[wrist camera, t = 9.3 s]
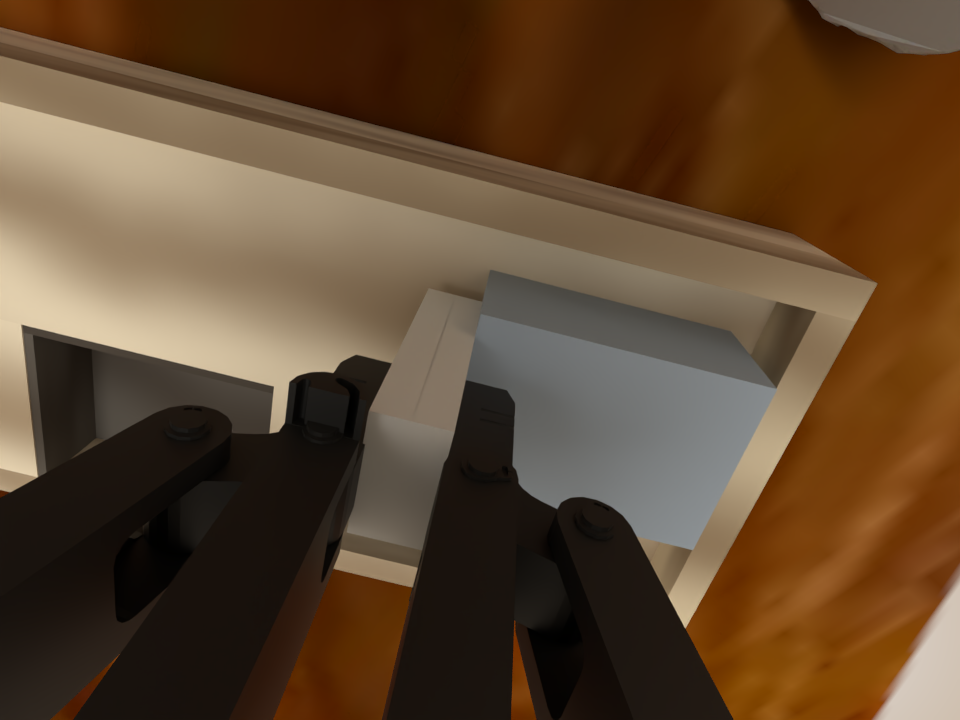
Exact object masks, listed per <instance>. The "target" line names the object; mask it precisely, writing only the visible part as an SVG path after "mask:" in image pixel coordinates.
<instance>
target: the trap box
mask: <svg viewBox="0 0 960 720" xmlns="http://www.w3.org/2000/svg"><path fill="white" fill-rule="evenodd" d="M490 270H494V271H498V272H502V273H506V274H510V275H514V276H517V277H521V278H525V279H529V280H533V281H537V282H541V283H545V284H549V285H553V286H556V287H560V288H564V289H568V290H572V291H576V292H580V293H584V294H588V295H592V296H595V297H599V298H603V299H607V300H611V301H615V302H619V303H623V304H627V305H631V306H634V307H638V308H642V309H646V310H650V311H654V312H658V313H662V314H666V315H670V316H673V317H677V318H681V319H685V320H689V321H693V322H697V323H701V324H705V325H709V326H712V327H716V328H720V329H724V330H728V331H731V332H732V333H733V334H734V336H735V337H736V338H737V339H738V341H739V342H740V343H741V344H742V346H743V347H744V348H745V349H746V351H747V352H748V353H749V354H750V356H751V357H752V358H753V359H754V361H755V362H756V363H757V364H758V366H759V367H760V368H761V369H762V371H763V372H764V373H765V374H766V376H767V377H768V378H769V379H770V381H771V382H772V383H773V384H774V386H775V387H776V388H777V391H776V393H775V395H774V397H773V399H772V400H771V402H770V404H769V406H768V408H767V410H766V412H765V414H764V416H763V418H762V420H761V421H760V423H759V425H758V427H757V429H756V431H755V433H754V435H753V437H752V439H751V441H750V442H749V444H748V446H747V448H746V450H745V452H744V454H743V456H742V458H741V460H740V461H739V463H738V465H737V467H736V469H735V471H734V473H733V475H732V477H731V479H730V481H729V482H728V484H727V486H726V488H725V490H724V492H723V494H722V496H721V498H720V500H719V502H718V503H717V505H716V507H715V509H714V511H713V513H712V515H711V517H710V519H709V521H708V523H707V524H706V526H705V528H704V530H703V532H702V534H701V536H700V538H699V540H698V542H697V544H696V545H695V547H694V549H693V550H690V549H686V548H682V547H678V546H674V545H670V544H665V543H661V542H657V541H653V540H649V539H645V538H641V537H637V538H638V540H639V542H640V544H641V546H642V548H643V550H644V551H645V553H646V555H647V557H648V559H649V561H650V563H651V565H652V567H653V568H654V570H655V572H656V574H657V576H658V578H659V580H660V582H661V584H662V585H663V587H664V589H665V591H666V593H667V595H668V597H669V599H670V601H671V603H672V604H673V606H674V608H675V610H676V612H677V614H678V616H679V618H680V620H681V621H682V623H683V625H684V627H685V628H686V626H687V625H688V623H689V621H690V619H691V617H692V616H693V614H694V612H695V610H696V608H697V607H698V605H699V603H700V601H701V599H702V598H703V596H704V594H705V592H706V590H707V589H708V587H709V585H710V583H711V582H712V580H713V578H714V576H715V574H716V573H717V571H718V569H719V567H720V565H721V564H722V562H723V560H724V558H725V556H726V555H727V553H728V551H729V549H730V547H731V546H732V544H733V542H734V540H735V538H736V537H737V535H738V533H739V531H740V529H741V528H742V526H743V524H744V522H745V520H746V519H747V517H748V515H749V513H750V511H751V510H752V508H753V506H754V504H755V502H756V501H757V499H758V497H759V495H760V493H761V492H762V490H763V488H764V486H765V485H766V483H767V481H768V479H769V477H770V476H771V474H772V472H773V470H774V468H775V467H776V465H777V463H778V461H779V459H780V458H781V456H782V454H783V452H784V450H785V449H786V447H787V445H788V443H789V441H790V440H791V438H792V436H793V434H794V432H795V431H796V429H797V427H798V425H799V423H800V422H801V420H802V418H803V416H804V414H805V413H806V411H807V409H808V407H809V405H810V404H811V402H812V400H813V398H814V397H815V395H816V393H817V391H818V389H819V388H820V386H821V384H822V382H823V380H824V379H825V377H826V375H827V373H828V371H829V370H830V368H831V366H832V364H833V362H834V361H835V359H836V357H837V355H838V353H839V352H840V350H841V348H842V346H843V344H844V343H845V341H846V339H847V337H848V335H849V334H850V332H851V330H852V328H853V326H854V325H855V323H856V321H857V319H858V317H859V316H860V314H861V312H862V310H863V309H864V307H865V305H866V303H867V301H868V300H869V298H870V296H871V294H872V292H873V291H874V289H875V287H876V285H877V283H876V282H875V281H873V280H871V279H869V278H868V277H866V276H864V275H863V274H861V273H859V272H857V271H856V270H854V269H852V268H851V267H849V266H847V265H845V264H844V263H842V262H840V261H839V260H837V259H835V258H834V257H832V256H830V255H828V254H827V253H825V252H823V251H822V250H820V249H818V248H816V247H815V246H813V245H811V244H810V243H808V242H806V241H804V240H803V239H801V238H799V237H798V236H796V235H794V234H792V233H788V232H784V231H780V230H777V229H773V228H769V227H765V226H761V225H757V224H754V223H750V222H746V221H742V220H738V219H734V218H731V217H727V216H723V215H719V214H715V213H711V212H708V211H704V210H700V209H696V208H692V207H688V206H685V205H681V204H677V203H673V202H669V201H665V200H662V199H658V198H654V197H650V196H646V195H642V194H639V193H635V192H631V191H627V190H623V189H619V188H616V187H612V186H608V185H604V184H600V183H596V182H592V181H589V180H585V179H581V178H577V177H573V176H569V175H566V174H562V173H558V172H554V171H550V170H546V169H543V168H539V167H535V166H531V165H527V164H523V163H520V162H516V161H512V160H508V159H504V158H500V157H497V156H493V155H489V154H485V153H481V152H477V151H474V150H470V149H466V148H462V147H458V146H454V145H451V144H447V143H443V142H439V141H435V140H431V139H428V138H424V137H420V136H416V135H412V134H408V133H405V132H401V131H397V130H393V129H389V128H385V127H382V126H378V125H374V124H370V123H366V122H362V121H359V120H355V119H351V118H347V117H343V116H339V115H336V114H332V113H328V112H324V111H320V110H316V109H312V108H309V107H305V106H301V105H297V104H293V103H289V102H286V101H282V100H278V99H274V98H270V97H266V96H263V95H259V94H255V93H251V92H247V91H243V90H240V89H236V88H232V87H228V86H224V85H220V84H217V83H213V82H209V81H205V80H201V79H197V78H194V77H190V76H186V75H182V74H178V73H174V72H171V71H167V70H163V69H159V68H155V67H151V66H148V65H144V64H140V63H136V62H132V61H128V60H125V59H121V58H117V57H113V56H109V55H105V54H102V53H98V52H94V51H90V50H86V49H82V48H79V47H75V46H71V45H67V44H63V43H59V42H56V41H52V40H48V39H44V38H40V37H36V36H33V35H29V34H25V33H21V32H17V31H13V30H9V29H6V28H2V27H0V490H3V491H8V492H12V491H14V490H16V489H17V488H19V487H21V486H23V485H25V484H27V483H28V482H30V481H32V480H34V479H36V478H37V477H39V476H41V475H43V474H45V473H47V472H48V471H50V470H52V469H54V468H56V467H57V466H59V465H61V464H63V463H65V462H66V461H68V460H70V459H72V458H74V457H76V456H77V455H79V454H81V453H83V452H85V451H86V450H88V449H90V448H92V447H94V446H96V445H97V444H99V443H101V442H103V441H105V440H106V439H108V438H110V437H112V436H114V435H116V434H117V433H119V432H121V431H123V430H125V429H126V428H128V427H130V426H132V425H134V424H136V423H137V422H139V421H141V420H143V419H145V418H146V417H148V416H150V415H152V414H154V413H156V412H159V411H161V410H164V409H166V408H169V407H176V406H183V405H194V406H195V405H197V406H204V407H208V408H212V409H216V410H218V411H220V412H221V413H223V414H224V415H226V416H228V418H229V420H230V421H231V423H232V433H241V434H269V433H275V432H279V430H280V429H281V428H282V426H283V425H284V423H285V416H286V407H287V398H288V389H289V382H290V381H291V380H293V379H294V378H295V377H297V376H299V375H302V374H306V373H309V372H330V373H334V371H335V370H336V368H337V367H338V365H339V364H340V362H342V361H344V360H346V359H348V358H350V357H352V356H354V355H360V356H365V357H369V358H373V359H377V360H381V361H385V362H389V363H392V362H393V360H394V358H395V356H396V354H397V352H398V350H399V348H400V346H401V344H402V342H403V340H404V338H405V336H406V334H407V332H408V330H409V328H410V326H411V324H412V322H413V320H414V317H415V315H416V313H417V311H418V309H419V307H420V305H421V303H422V301H423V299H424V297H425V295H426V293H427V291H428V289H429V288H430V289H434V290H438V291H441V292H445V293H449V294H453V295H457V296H461V297H465V298H469V299H473V300H477V301H481V302H482V300H483V296H484V292H485V288H486V285H487V281H488V277H489V273H490ZM348 522H349V520H348ZM348 522H347V524H346V527H345V529H344V532H343V536H342V542H341V548H340V553H339V556H338V558H337V561H336V563H335V566H334V568H333V569H337V570H341V571H345V572H350V573H354V574H358V575H362V576H366V577H371V578H375V579H379V580H383V581H387V582H392V583H396V584H400V585H404V586H409V587H413V584H414V580H415V576H416V572H417V568H418V565H419V561H420V557H421V553H422V550H418V549H414V548H410V547H405V546H401V545H397V544H393V543H389V542H384V541H380V540H376V539H372V538H368V537H364V536H359V535H355V534H351V533H347V528H348Z"/></svg>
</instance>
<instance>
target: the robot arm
mask: <svg viewBox="0 0 960 720" xmlns="http://www.w3.org/2000/svg"><path fill="white" fill-rule="evenodd" d="M481 307H482V302H481V301H477V300H473V299H469V298H465V297H461V296H457V295H453V294H449V293H445V292H441V291H438V290H434V289H430V288H429V289H428V291H427V293H426V295H425V297H424V299H423V301H422V303H421V305H420V307H419V309H418V311H417V313H416V315H415V317H414V320H413V322H412V324H411V326H410V328H409V330H408V332H407V334H406V336H405V338H404V340H403V342H402V344H401V346H400V348H399V350H398V352H397V354H396V356H395V358H394V360H393V362H392V363H389V362H385V361H381V360H377V359H373V358H369V357H365V356H360V355H354V356H352V357H350V358H348V359H346V360H344V361H342V362H340V364H339V365H338V367H337V368H336V370H335V371H334V373H330V372H309V373H306V374H302V375H299V376H297V377H295V378H294V379H293V380H291V381H290V382H289V389H288V398H287V407H286V416H285V423H284V425H283V426H282V428H281V429H280V430H279V432H275V433H269V434H241V433H232V423H231V421H230V420H229V418H228V416H226V415H224V414H223V413H221V412H220V411H218V410H216V409H212V408H208V407H204V406H197V405H195V406H194V405H183V406H176V407H169V408H166V409H164V410H161V411H159V412H156V413H154V414H152V415H150V416H148V417H146V418H145V419H143V420H141V421H139V422H137V423H136V424H134V425H132V426H130V427H128V428H126V429H125V430H123V431H121V432H119V433H117V434H116V435H114V436H112V437H110V438H108V439H106V440H105V441H103V442H101V443H99V444H97V445H96V446H94V447H92V448H90V449H88V450H86V451H85V452H83V453H81V454H79V455H77V456H76V457H74V458H72V459H70V460H68V461H66V462H65V463H63V464H61V465H59V466H57V467H56V468H54V469H52V470H50V471H48V472H47V473H45V474H43V475H41V476H39V477H37V478H36V479H34V480H32V481H30V482H28V483H27V484H25V485H23V486H21V487H19V488H17V489H16V490H14V491H12V492H10V493H8V494H7V495H5V496H3V497H1V498H0V720H50V719H51V718H52V717H53V716H54V715H55V714H57V713H58V712H59V711H60V710H61V709H62V708H63V707H64V706H65V705H66V704H67V703H68V702H69V701H70V700H71V699H72V698H73V697H75V696H76V695H77V694H78V693H79V692H80V691H81V690H82V689H83V688H84V687H85V686H86V685H87V684H88V683H89V682H90V681H92V680H93V679H94V678H95V677H96V676H97V675H98V674H99V673H100V672H101V671H102V670H103V669H104V668H105V667H106V666H107V665H108V664H110V663H111V662H112V661H113V660H114V659H115V658H116V657H117V656H118V655H119V654H120V655H119V656H118V658H117V659H116V660H115V662H114V663H113V665H112V666H111V667H110V669H109V670H108V672H107V673H106V674H105V676H104V677H103V679H102V680H101V681H100V683H99V684H98V686H97V687H96V689H95V690H94V691H93V693H92V694H91V696H90V697H89V698H88V700H87V701H86V703H85V704H84V705H83V707H82V708H81V710H80V711H79V712H78V714H77V715H76V717H75V718H74V719H73V720H273V718H274V715H275V713H276V710H277V708H278V705H279V703H280V700H281V698H282V696H283V693H284V691H285V688H286V686H287V683H288V681H289V678H290V676H291V673H292V671H293V668H294V666H295V663H296V661H297V658H298V656H299V653H300V651H301V648H302V646H303V643H304V641H305V638H306V636H307V633H308V631H309V628H310V626H311V623H312V621H313V618H314V616H315V613H316V611H317V608H318V606H319V603H320V601H321V598H322V596H323V593H324V591H325V588H326V586H327V583H328V581H329V578H330V576H331V573H332V571H333V568H334V566H335V563H336V561H337V558H338V556H339V553H340V548H341V542H342V536H343V532H344V529H345V527H346V524H347V522H348V520H349V522H348V528H347V533H351V534H355V535H359V536H364V537H368V538H372V539H376V540H380V541H384V542H389V543H393V544H397V545H401V546H405V547H410V548H414V549H418V550H422V553H421V557H420V561H419V565H418V568H417V572H416V576H415V580H414V584H413V588H412V592H411V595H410V599H409V601H410V602H409V606H408V611H407V615H406V619H405V624H404V628H403V632H402V636H401V641H400V645H399V649H398V653H397V658H396V662H395V666H394V670H393V675H392V679H391V683H390V687H389V692H388V696H387V700H386V705H385V709H384V713H383V717H382V720H511V697H512V667H513V636H514V620H515V621H516V635H517V639H518V643H519V647H520V652H521V656H522V660H523V664H524V668H525V672H526V677H527V681H528V685H529V689H530V693H531V698H532V702H533V706H534V710H535V714H536V718H537V720H733V718H732V716H731V714H730V712H729V710H728V709H727V707H726V705H725V703H724V701H723V699H722V697H721V695H720V693H719V691H718V690H717V688H716V686H715V684H714V682H713V680H712V678H711V676H710V674H709V673H708V671H707V669H706V667H705V665H704V663H703V661H702V659H701V657H700V656H699V654H698V652H697V650H696V648H695V646H694V644H693V642H692V640H691V638H690V637H689V635H688V633H687V631H686V629H685V627H684V625H683V623H682V621H681V620H680V618H679V616H678V614H677V612H676V610H675V608H674V606H673V604H672V603H671V601H670V599H669V597H668V595H667V593H666V591H665V589H664V587H663V585H662V584H661V582H660V580H659V578H658V576H657V574H656V572H655V570H654V568H653V567H652V565H651V563H650V561H649V559H648V557H647V555H646V553H645V551H644V550H643V548H642V546H641V544H640V542H639V540H638V538H637V536H636V534H635V532H634V531H633V529H632V527H631V525H630V524H629V523H628V521H627V520H626V519H625V518H624V516H623V515H622V514H620V513H619V512H618V511H616V510H615V509H614V508H612V507H611V506H609V505H607V504H605V503H603V502H600V501H598V500H595V499H591V498H586V497H572V498H569V499H567V500H565V501H563V502H561V503H560V505H559V507H558V509H556V508H554V507H552V506H550V505H548V504H546V503H544V502H542V501H540V500H538V499H537V498H535V497H533V496H531V495H530V494H529V493H528V492H527V491H525V490H524V489H523V488H522V487H521V486H520V484H519V479H518V475H517V471H516V469H515V468H514V467H513V466H512V465H513V443H514V422H515V419H514V417H515V402H514V401H513V399H512V397H511V396H510V394H509V393H508V391H507V390H504V389H500V388H496V387H492V386H488V385H484V384H480V383H476V382H472V381H468V380H466V376H467V372H468V367H469V362H470V358H471V353H472V349H473V344H474V339H475V334H476V329H477V325H478V320H479V316H480V311H481Z"/></svg>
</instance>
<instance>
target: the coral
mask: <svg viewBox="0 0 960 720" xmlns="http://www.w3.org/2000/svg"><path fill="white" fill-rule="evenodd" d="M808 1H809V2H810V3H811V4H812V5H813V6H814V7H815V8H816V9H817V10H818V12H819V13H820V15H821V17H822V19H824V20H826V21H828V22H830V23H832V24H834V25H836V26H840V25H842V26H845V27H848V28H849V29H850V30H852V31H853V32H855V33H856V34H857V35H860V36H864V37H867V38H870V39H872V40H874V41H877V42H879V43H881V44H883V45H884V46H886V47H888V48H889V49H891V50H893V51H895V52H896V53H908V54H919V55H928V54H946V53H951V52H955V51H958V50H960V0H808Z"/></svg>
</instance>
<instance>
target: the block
mask: <svg viewBox="0 0 960 720" xmlns="http://www.w3.org/2000/svg"><path fill="white" fill-rule="evenodd" d="M466 380H468V381H472V382H476V383H480V384H484V385H488V386H492V387H496V388H500V389H504V390H507V391H508V393H509V394H510V396H511V397H512V399H513V401H514V402H515V417H514V419H515V422H514V443H513V465H512V466H513V467H514V468H515V469H516V471H517V475H518V479H519V484H520V486H521V487H522V488H523V489H524V490H525V491H527V492H528V493H529V494H530V495H531V496H533V497H535V498H537V499H538V500H540V501H542V502H544V503H546V504H548V505H550V506H552V507H554V508H556V509H558V507H559V505H560V503H561V502H563V501H565V500H567V499H569V498H572V497H586V498H591V499H595V500H598V501H600V502H603V503H605V504H607V505H609V506H611V507H612V508H614V509H615V510H616V511H618V512H619V513H620V514H622V515H623V516H624V518H625V519H626V520H627V521H628V523H629V524H630V525H631V527H632V529H633V531H634V532H635V534H636V536H637V537H641V538H645V539H649V540H653V541H657V542H661V543H665V544H670V545H674V546H678V547H682V548H686V549H690V550H693V549H694V547H695V545H696V544H697V542H698V540H699V538H700V536H701V534H702V532H703V530H704V528H705V526H706V524H707V523H708V521H709V519H710V517H711V515H712V513H713V511H714V509H715V507H716V505H717V503H718V502H719V500H720V498H721V496H722V494H723V492H724V490H725V488H726V486H727V484H728V482H729V481H730V479H731V477H732V475H733V473H734V471H735V469H736V467H737V465H738V463H739V461H740V460H741V458H742V456H743V454H744V452H745V450H746V448H747V446H748V444H749V442H750V441H751V439H752V437H753V435H754V433H755V431H756V429H757V427H758V425H759V423H760V421H761V420H762V418H763V416H764V414H765V412H766V410H767V408H768V406H769V404H770V402H771V400H772V399H773V397H774V395H775V393H776V391H777V388H776V387H775V386H774V384H773V383H772V382H771V381H770V379H769V378H768V377H767V376H766V374H765V373H764V372H763V371H762V369H761V368H760V367H759V366H758V364H757V363H756V362H755V361H754V359H753V358H752V357H751V356H750V354H749V353H748V352H747V351H746V349H745V348H744V347H743V346H742V344H741V343H740V342H739V341H738V339H737V338H736V337H735V336H734V334H733V333H732V332H731V331H728V330H724V329H720V328H716V327H712V326H709V325H705V324H701V323H697V322H693V321H689V320H685V319H681V318H677V317H673V316H670V315H666V314H662V313H658V312H654V311H650V310H646V309H642V308H638V307H634V306H631V305H627V304H623V303H619V302H615V301H611V300H607V299H603V298H599V297H595V296H592V295H588V294H584V293H580V292H576V291H572V290H568V289H564V288H560V287H556V286H553V285H549V284H545V283H541V282H537V281H533V280H529V279H525V278H521V277H517V276H514V275H510V274H506V273H502V272H498V271H494V270H490V273H489V277H488V281H487V285H486V288H485V292H484V296H483V300H482V307H481V311H480V316H479V320H478V325H477V329H476V334H475V339H474V344H473V349H472V353H471V358H470V362H469V367H468V372H467V376H466Z"/></svg>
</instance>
